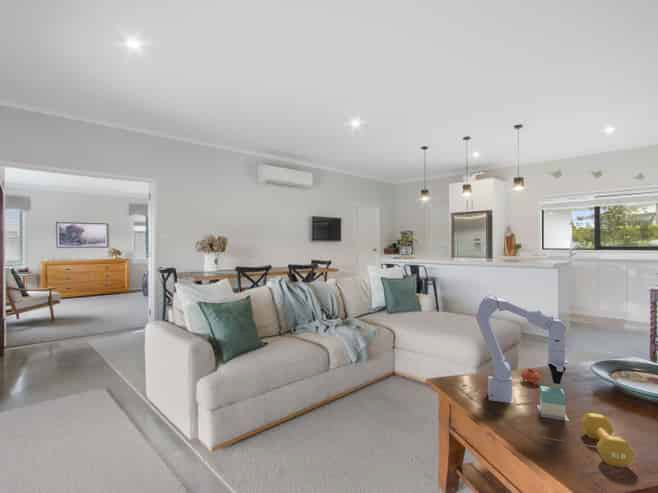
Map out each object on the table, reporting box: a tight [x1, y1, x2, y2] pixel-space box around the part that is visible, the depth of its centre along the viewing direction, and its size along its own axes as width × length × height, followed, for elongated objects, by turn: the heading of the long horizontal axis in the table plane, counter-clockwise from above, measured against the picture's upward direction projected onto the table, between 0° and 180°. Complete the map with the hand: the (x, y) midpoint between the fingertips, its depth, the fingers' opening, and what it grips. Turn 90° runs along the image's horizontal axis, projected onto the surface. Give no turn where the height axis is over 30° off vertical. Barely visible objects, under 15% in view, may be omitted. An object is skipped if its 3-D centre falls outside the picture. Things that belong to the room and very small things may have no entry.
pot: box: [520, 368, 541, 386], centre depth 164 cm, size 8×8×7 cm
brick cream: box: [539, 397, 566, 417], centre depth 135 cm, size 8×5×4 cm, turn 67°
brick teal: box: [539, 385, 566, 407], centre depth 135 cm, size 8×5×4 cm, turn 67°
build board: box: [536, 404, 570, 422], centre depth 135 cm, size 9×10×1 cm
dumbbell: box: [579, 412, 635, 468], centre depth 111 cm, size 19×9×8 cm, turn 159°
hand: (556, 383), depth 138 cm, fingers closed
